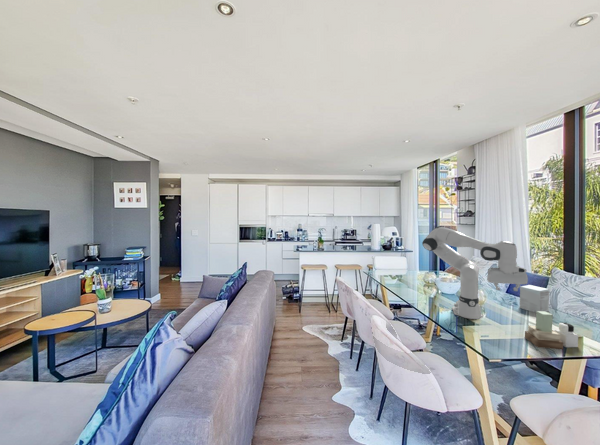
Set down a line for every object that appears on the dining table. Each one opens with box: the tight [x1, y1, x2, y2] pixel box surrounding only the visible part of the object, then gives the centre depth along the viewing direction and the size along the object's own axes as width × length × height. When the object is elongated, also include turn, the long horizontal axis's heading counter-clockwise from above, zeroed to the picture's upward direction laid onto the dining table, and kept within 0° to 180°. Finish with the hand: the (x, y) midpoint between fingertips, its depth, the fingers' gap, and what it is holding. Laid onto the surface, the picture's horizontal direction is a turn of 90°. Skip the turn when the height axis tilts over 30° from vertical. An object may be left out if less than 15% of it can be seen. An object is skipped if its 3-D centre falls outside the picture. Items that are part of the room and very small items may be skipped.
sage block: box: [535, 311, 554, 332], centre depth 155 cm, size 5×5×10 cm
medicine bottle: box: [553, 322, 579, 348], centre depth 154 cm, size 7×7×12 cm
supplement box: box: [519, 284, 550, 313], centre depth 208 cm, size 13×13×18 cm
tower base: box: [524, 330, 564, 350], centre depth 155 cm, size 12×12×4 cm
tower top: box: [527, 324, 560, 341], centre depth 155 cm, size 10×10×4 cm
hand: (506, 290), depth 161 cm, fingers open, 8 cm apart
